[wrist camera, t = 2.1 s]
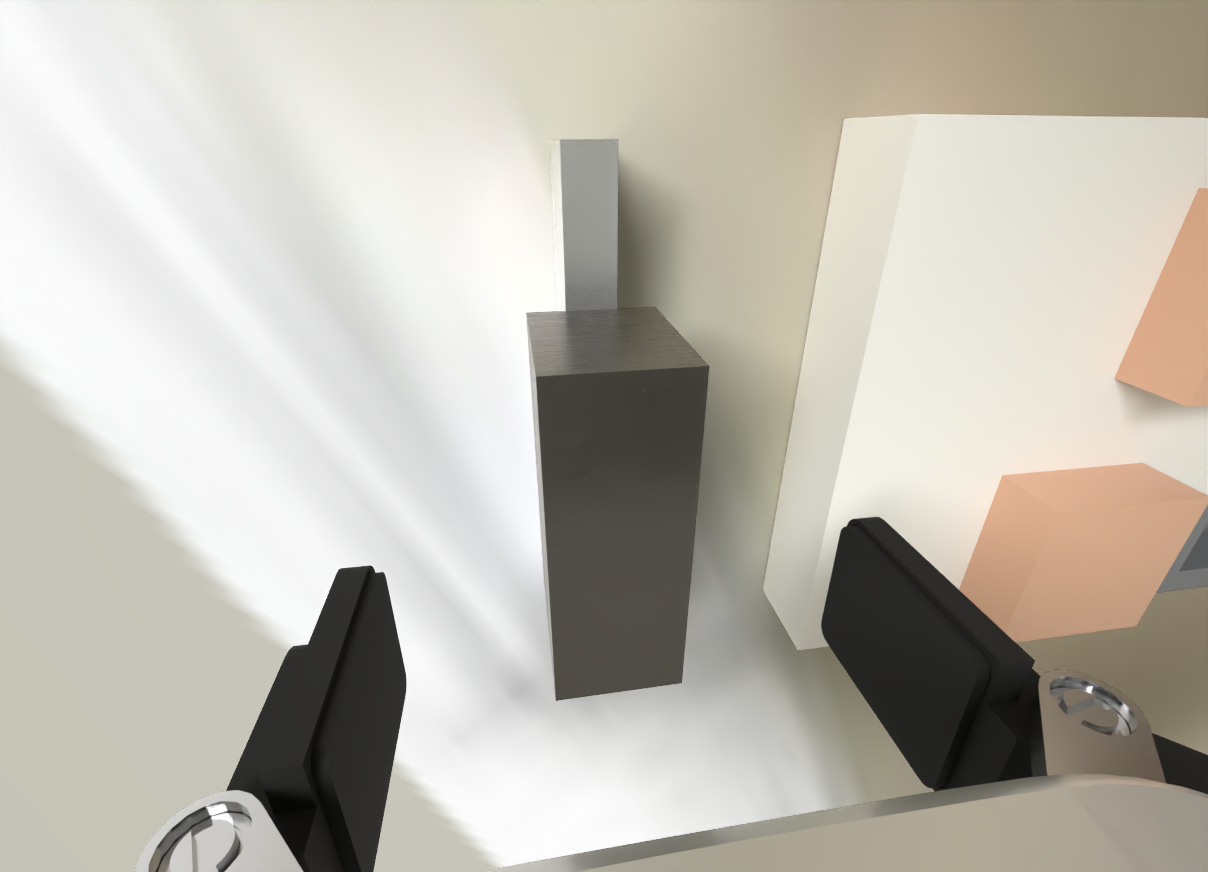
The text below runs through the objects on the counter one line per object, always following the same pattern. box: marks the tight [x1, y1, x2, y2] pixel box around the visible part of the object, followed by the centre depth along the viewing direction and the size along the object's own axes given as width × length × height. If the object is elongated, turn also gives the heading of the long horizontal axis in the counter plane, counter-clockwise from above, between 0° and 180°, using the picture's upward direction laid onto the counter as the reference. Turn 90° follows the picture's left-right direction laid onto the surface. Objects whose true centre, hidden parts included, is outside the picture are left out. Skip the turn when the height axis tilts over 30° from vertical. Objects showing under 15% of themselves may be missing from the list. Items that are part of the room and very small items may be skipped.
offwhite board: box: [763, 114, 1208, 651], centre depth 18 cm, size 16×14×3 cm
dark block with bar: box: [526, 139, 709, 701], centre depth 15 cm, size 15×3×7 cm, turn 0°
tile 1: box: [959, 463, 1208, 643], centre depth 18 cm, size 5×5×2 cm
